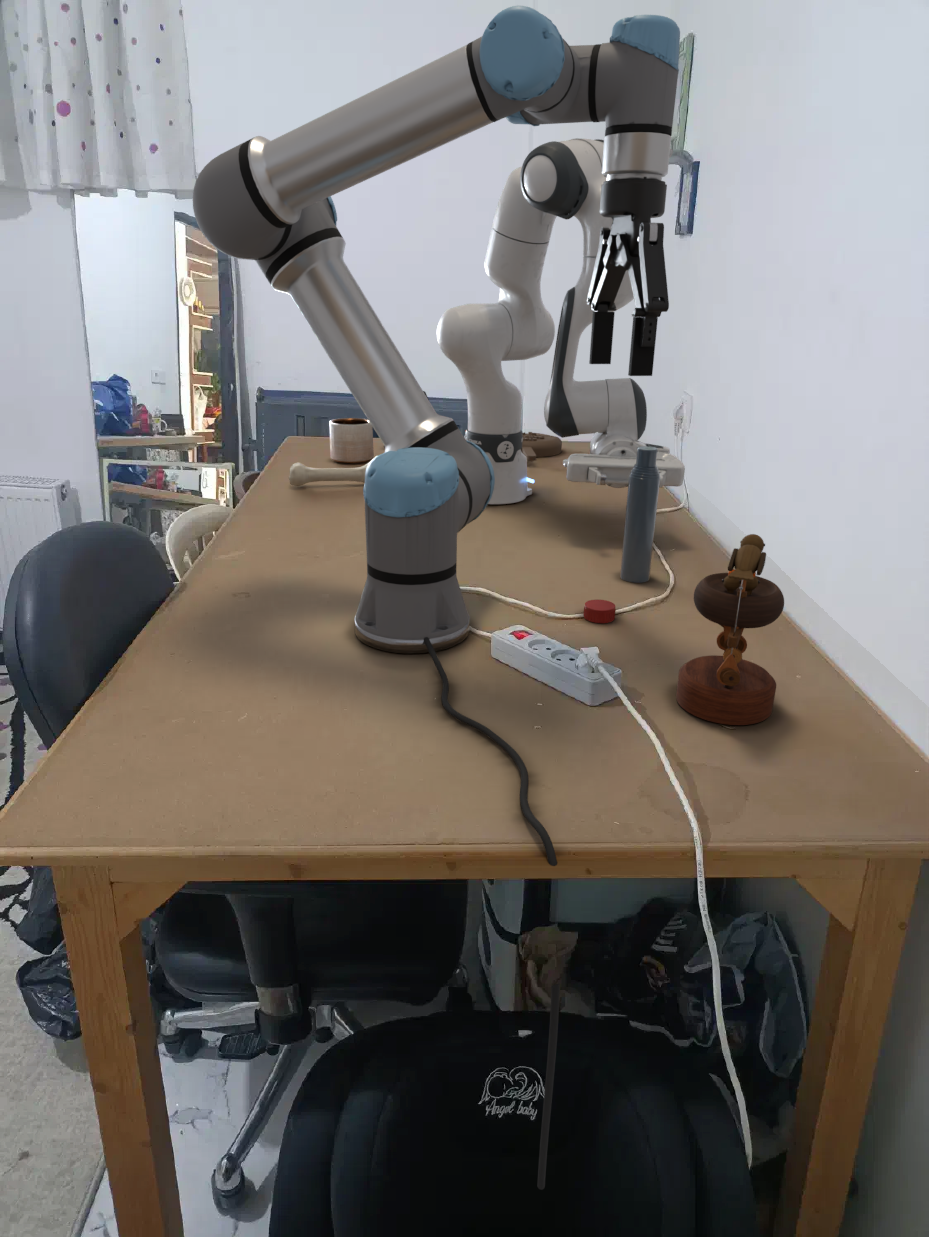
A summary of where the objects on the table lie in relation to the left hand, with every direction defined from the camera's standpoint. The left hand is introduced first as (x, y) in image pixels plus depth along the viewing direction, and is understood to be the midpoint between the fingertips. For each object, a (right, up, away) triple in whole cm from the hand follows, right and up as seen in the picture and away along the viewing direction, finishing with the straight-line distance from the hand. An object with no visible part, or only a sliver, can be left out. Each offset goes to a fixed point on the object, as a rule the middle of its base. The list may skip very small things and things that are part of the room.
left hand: (618, 369), depth 106 cm
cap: (0, -30, +12) cm, 32 cm away
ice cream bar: (-3, +12, +117) cm, 117 cm away
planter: (-48, +9, +108) cm, 119 cm away
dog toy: (-48, -2, +83) cm, 96 cm away
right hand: (+8, -8, +35) cm, 37 cm away
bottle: (+8, -25, +29) cm, 39 cm away
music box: (+10, -41, -10) cm, 43 cm away
